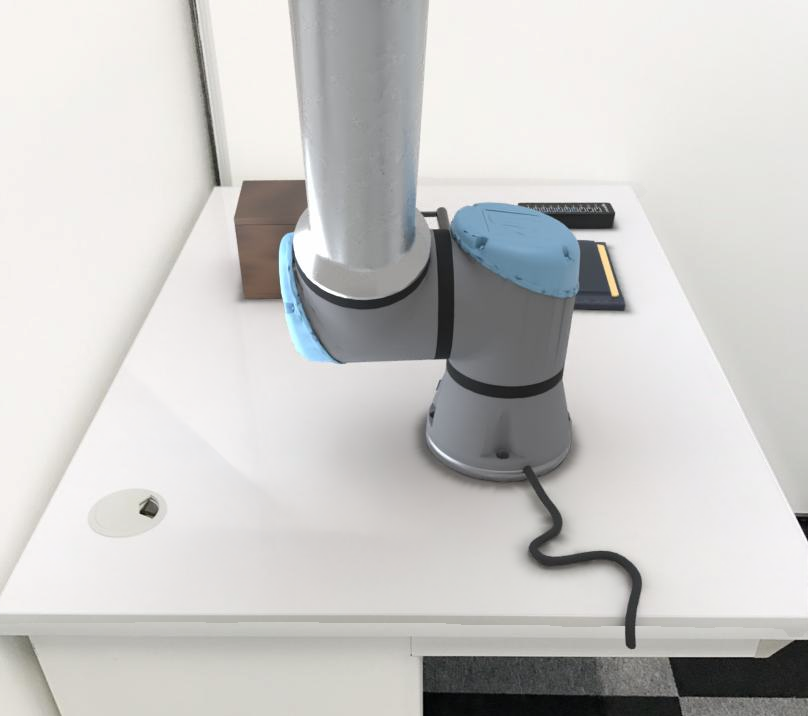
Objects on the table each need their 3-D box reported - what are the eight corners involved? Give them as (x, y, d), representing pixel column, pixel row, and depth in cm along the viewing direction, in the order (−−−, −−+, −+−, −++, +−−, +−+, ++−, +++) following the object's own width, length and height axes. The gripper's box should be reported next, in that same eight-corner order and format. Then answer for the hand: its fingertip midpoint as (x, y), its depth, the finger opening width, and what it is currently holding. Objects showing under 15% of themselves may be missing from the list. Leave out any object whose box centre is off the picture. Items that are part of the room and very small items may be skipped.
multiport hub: (516, 216, 133) (517, 202, 132) (607, 216, 134) (610, 202, 132) (519, 228, 130) (521, 213, 128) (613, 228, 130) (616, 213, 129)
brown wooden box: (355, 255, 123) (352, 179, 115) (355, 297, 113) (353, 216, 106) (252, 257, 122) (242, 180, 115) (244, 298, 113) (233, 218, 105)
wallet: (506, 230, 125) (611, 234, 124) (505, 243, 126) (609, 247, 125) (509, 293, 110) (627, 298, 109) (507, 307, 111) (625, 312, 111)
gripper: (316, -128, 91) (327, 90, 105) (307, -105, 72) (321, 156, 86) (386, -128, 91) (388, 90, 105) (395, -105, 72) (395, 156, 87)
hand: (358, 120), depth 96 cm, fingers open, 13 cm apart
